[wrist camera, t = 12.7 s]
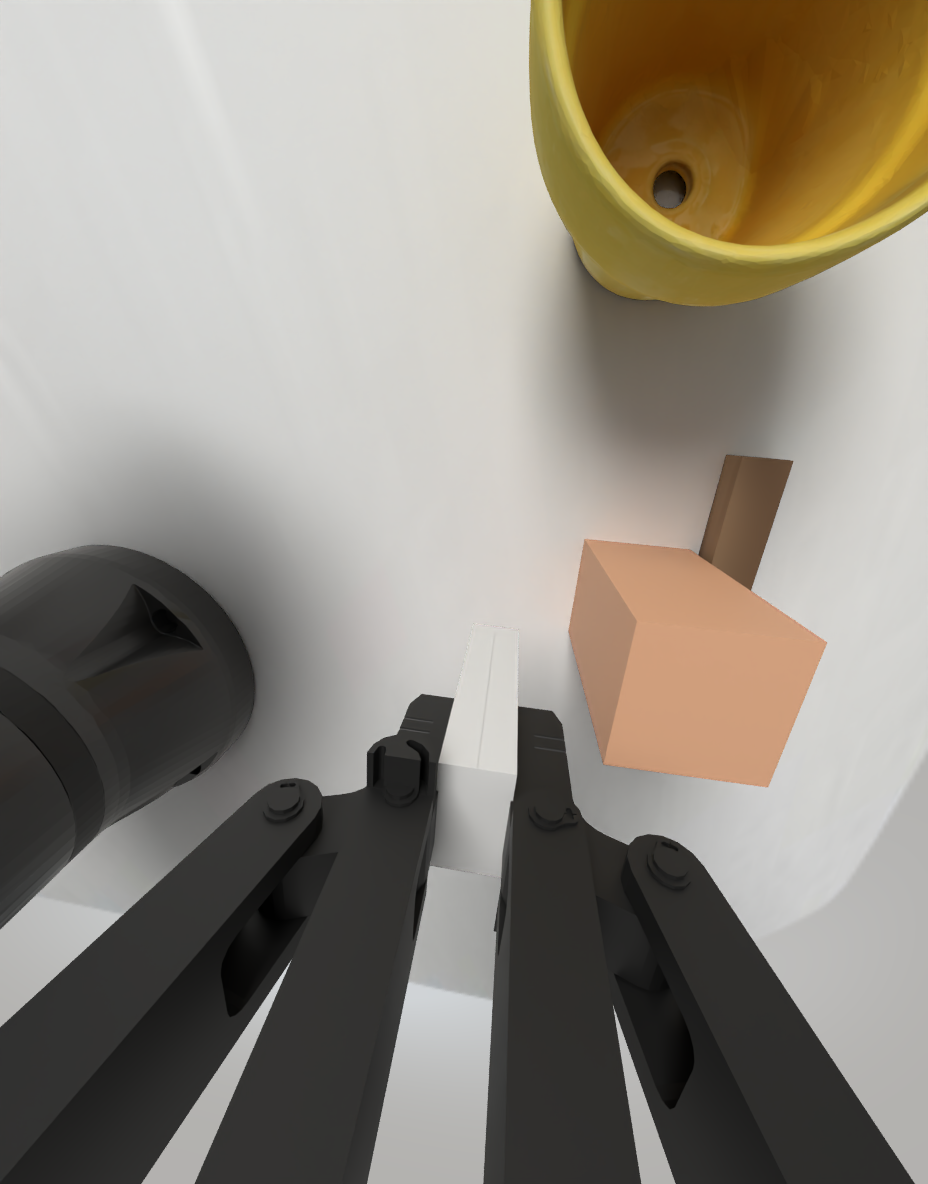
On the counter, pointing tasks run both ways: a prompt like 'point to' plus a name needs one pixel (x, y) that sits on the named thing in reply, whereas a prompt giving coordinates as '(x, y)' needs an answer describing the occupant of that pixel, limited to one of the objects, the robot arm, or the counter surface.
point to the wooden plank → (743, 515)
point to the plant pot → (729, 136)
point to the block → (686, 664)
